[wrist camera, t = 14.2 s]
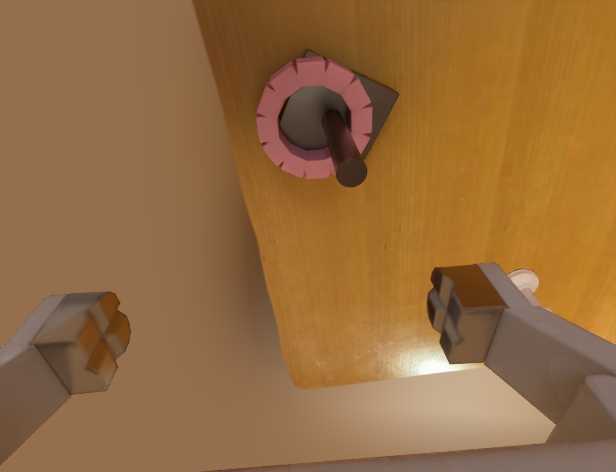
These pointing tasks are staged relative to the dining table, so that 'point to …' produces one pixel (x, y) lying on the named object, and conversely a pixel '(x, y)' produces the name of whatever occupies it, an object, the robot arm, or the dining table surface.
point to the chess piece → (526, 284)
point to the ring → (288, 83)
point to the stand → (334, 124)
